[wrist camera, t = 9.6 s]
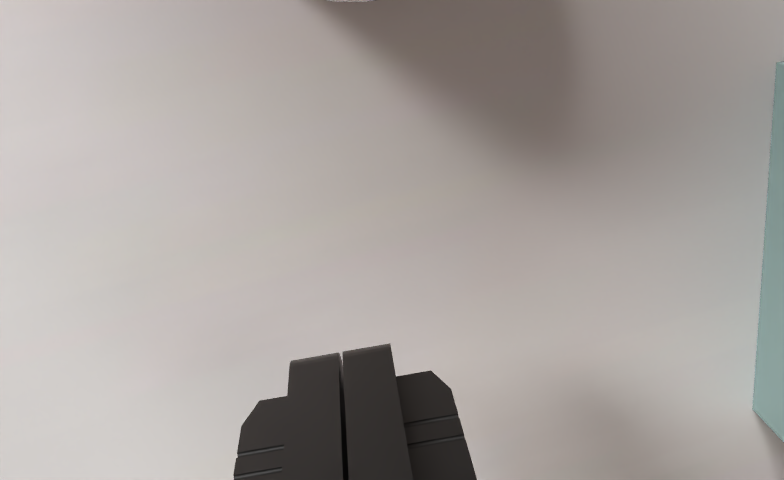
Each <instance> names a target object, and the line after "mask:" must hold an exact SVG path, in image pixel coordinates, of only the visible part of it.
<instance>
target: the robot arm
mask: <svg viewBox="0 0 784 480" xmlns="http://www.w3.org/2000/svg"><path fill="white" fill-rule="evenodd" d="M237 454H238V458H236V463H235V469H234V480H477V478H476V475H475V471H474V468H473V464H472V461H471V457H470V454H469V450H468V447H467V443H466V440H465V438H464V433H463V429H462V426H461V422H460V419H459V417H458V412H457V409H456V405H455V402H454V398H453V395H452V391H451V389H450V388H449V387H448V386H447V385H446V384H445V383H444V382H443V381H442V380H441V379H439V378H438V377H437V376H436V375H435V374H434V373H433V372H432V371H426V372H420V373H415V374H409V375H403V376H397V377H396V375H395V369H394V363H393V358H392V352H391V346H390V344H384V345H379V346H373V347H367V348H361V349H356V350H350V351H344V352H343V364H342V360H341V356H340V354H339V353H334V354H328V355H322V356H316V357H311V358H305V359H299V360H293V361H291V362H290V368H289V382H288V395H287V396H284V397H279V398H273V399H267V400H262V401H259V402H258V404H257V405H256V407H255V408H254V409H253V411H252V412H251V414H250V415H249V416H248V418H247V419H246V421H245V422H244V423H243V425H242V427H241V433H240V439H239V445H238V451H237Z"/></svg>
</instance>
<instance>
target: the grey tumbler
mask: <svg viewBox="0 0 784 480" xmlns="http://www.w3.org/2000/svg"><path fill="white" fill-rule="evenodd" d="M328 1H335V2H366V1H374V0H328Z"/></svg>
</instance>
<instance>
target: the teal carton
mask: <svg viewBox="0 0 784 480" xmlns="http://www.w3.org/2000/svg"><path fill="white" fill-rule="evenodd" d="M753 410H754V411H755V412H756V413H757V414H758V415H759V417H760V418H761V419H762V420H763V421H764V422H765V423H766V424H767V425H768V426H769V427H770V428H771V429H772V430H773V431H774V433H775V434H776V435H777V436H778V437H779V438H780V439H781V440H782V441H783V442H784V62H777V63H776V76H775V91H774V105H773V120H772V134H771V149H770V163H769V178H768V192H767V206H766V221H765V235H764V250H763V264H762V279H761V293H760V308H759V322H758V336H757V351H756V365H755V380H754V394H753Z"/></svg>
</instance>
